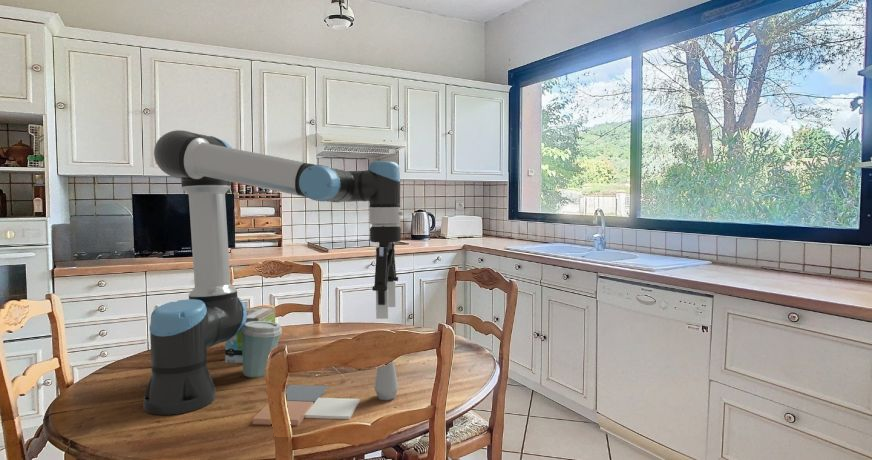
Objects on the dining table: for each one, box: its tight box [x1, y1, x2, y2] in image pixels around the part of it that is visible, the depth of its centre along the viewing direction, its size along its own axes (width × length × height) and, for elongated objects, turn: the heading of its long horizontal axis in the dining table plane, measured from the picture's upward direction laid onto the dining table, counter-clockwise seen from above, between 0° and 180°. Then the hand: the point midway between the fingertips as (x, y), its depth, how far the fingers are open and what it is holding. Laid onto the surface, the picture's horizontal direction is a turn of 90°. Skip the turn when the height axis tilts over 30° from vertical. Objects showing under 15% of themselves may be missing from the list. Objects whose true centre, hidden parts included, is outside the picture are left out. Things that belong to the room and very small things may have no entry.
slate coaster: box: [285, 384, 329, 404], centre depth 123 cm, size 10×10×1 cm
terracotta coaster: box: [252, 401, 313, 426], centre depth 111 cm, size 10×10×1 cm
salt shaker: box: [374, 360, 399, 402], centre depth 121 cm, size 6×6×13 cm
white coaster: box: [304, 397, 360, 420], centre depth 114 cm, size 10×10×1 cm
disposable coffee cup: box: [241, 321, 283, 378], centre depth 136 cm, size 11×11×15 cm
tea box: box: [224, 307, 276, 364], centre depth 151 cm, size 15×10×15 cm, turn 179°
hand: (386, 312), depth 121 cm, fingers open, 13 cm apart
